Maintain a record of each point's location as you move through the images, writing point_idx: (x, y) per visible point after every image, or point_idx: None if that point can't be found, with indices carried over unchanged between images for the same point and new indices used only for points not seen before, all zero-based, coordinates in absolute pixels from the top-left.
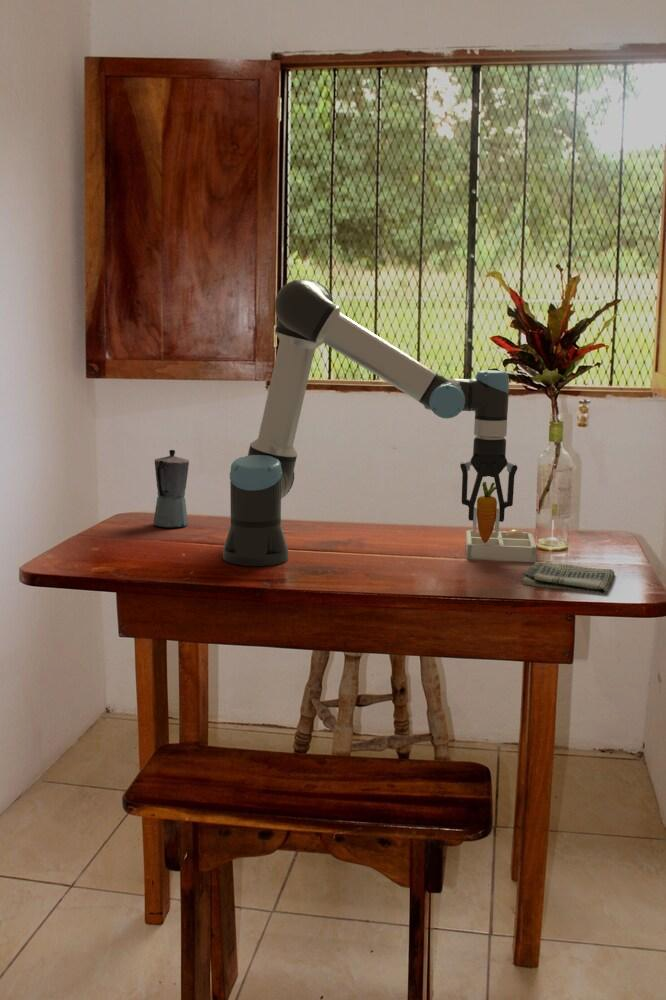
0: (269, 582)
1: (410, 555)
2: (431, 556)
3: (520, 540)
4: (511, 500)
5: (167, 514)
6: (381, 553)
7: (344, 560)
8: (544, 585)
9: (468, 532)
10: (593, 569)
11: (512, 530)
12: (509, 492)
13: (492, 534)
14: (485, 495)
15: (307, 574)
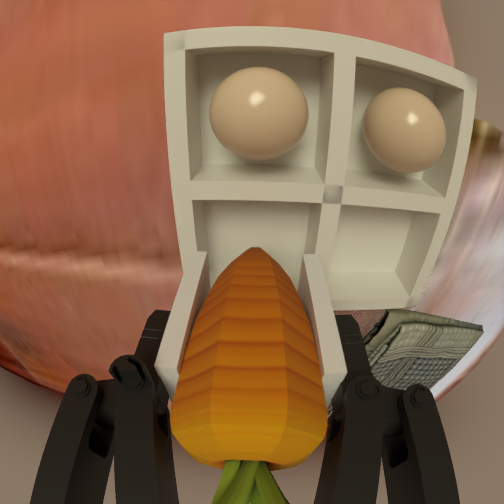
0: (18, 367)
1: (56, 251)
2: (99, 254)
3: (410, 209)
4: (399, 444)
5: None
6: (10, 244)
7: (2, 296)
8: None
9: (174, 89)
10: (458, 342)
11: (410, 147)
12: (393, 490)
13: (303, 131)
14: (232, 475)
15: (19, 351)
